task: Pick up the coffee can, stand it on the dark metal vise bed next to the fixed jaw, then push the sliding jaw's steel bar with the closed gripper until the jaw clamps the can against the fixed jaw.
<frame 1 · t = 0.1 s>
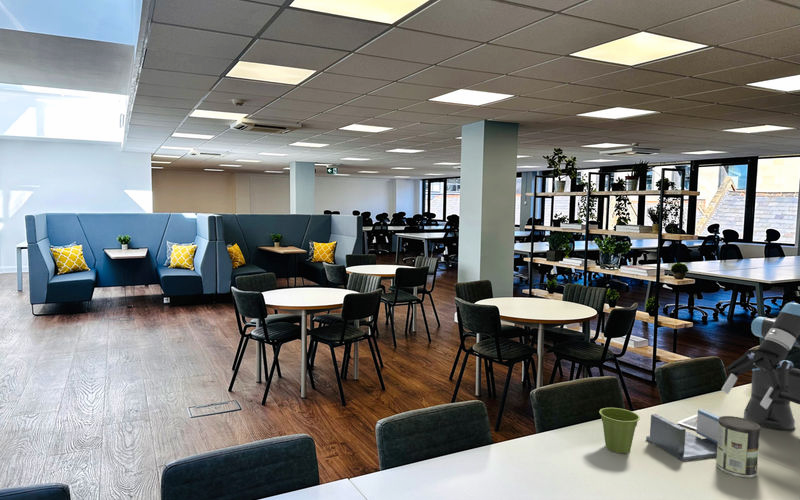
hand: (743, 399, 165), 15 cm above the table, tool tilted 35°, fingers open, 13 cm apart
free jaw: (720, 427, 167), point 6 cm above the table, slide at 0.0 cm
coffee can: (735, 469, 150), on the table
vise base: (685, 447, 163), on the table
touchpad: (697, 425, 183), on the table
plant pot: (617, 449, 161), on the table
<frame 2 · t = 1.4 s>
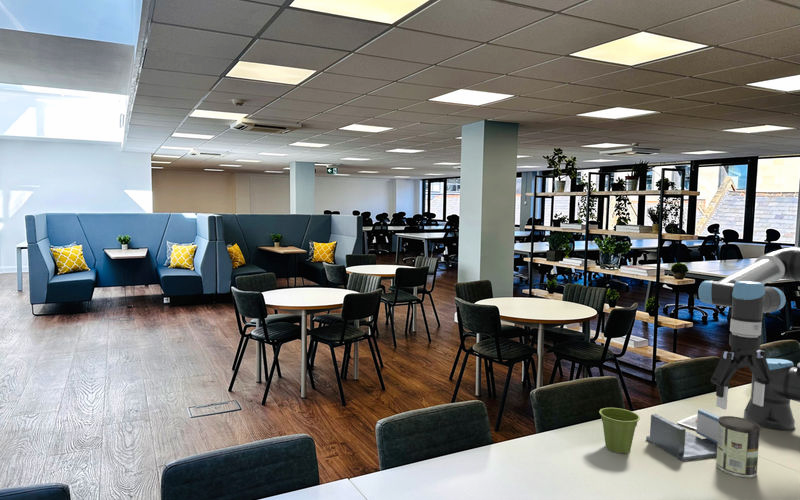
hand: (739, 406, 149), 19 cm above the table, tool pointing down, fingers open, 13 cm apart
nothing on the table moved.
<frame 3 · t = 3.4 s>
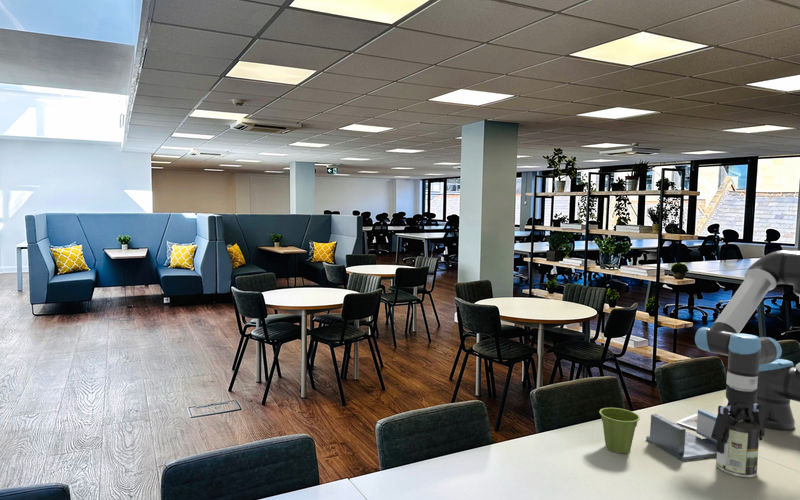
hand: (736, 461, 150), 2 cm above the table, tool pointing down, fingers closed on coffee can, 10 cm apart
coffee can: (735, 469, 150), on the table, touching gripper
everything else where it was.
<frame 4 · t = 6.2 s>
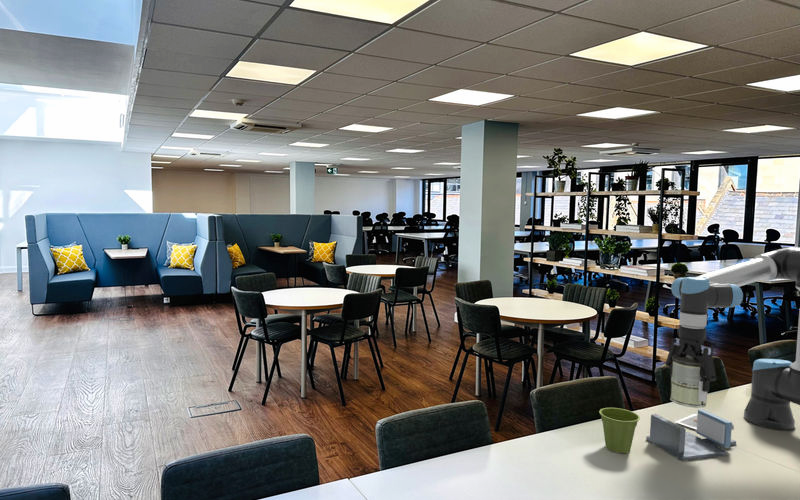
hand: (688, 395, 162), 17 cm above the table, tool pointing down, fingers closed on coffee can, 10 cm apart
coffee can: (687, 402, 162), point 15 cm above the table, touching gripper
when the fingers open (5 cm above the table, at t = 8.9 s): coffee can drops 1 cm, resting on vise base.
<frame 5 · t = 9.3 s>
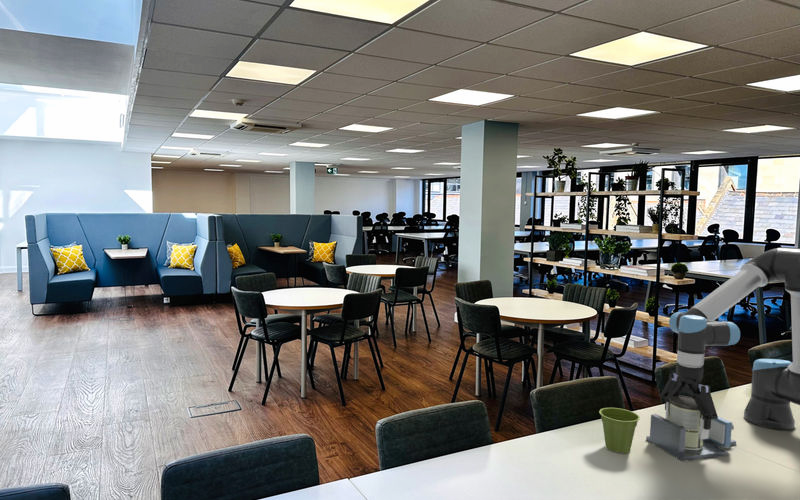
hand: (685, 429, 163), 6 cm above the table, tool pointing down, fingers open, 13 cm apart
coffee can: (684, 444, 163), point 1 cm above the table, touching vise base
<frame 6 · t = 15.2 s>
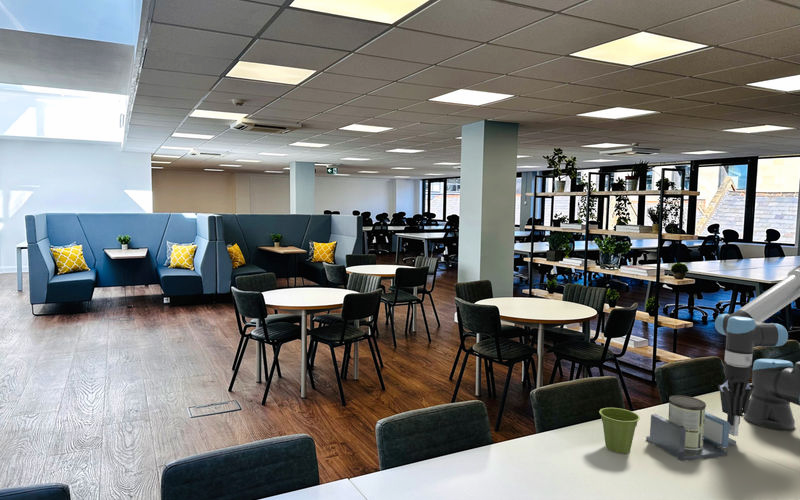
hand: (732, 434, 168), 3 cm above the table, tool pointing down, fingers closed
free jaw: (718, 427, 166), point 5 cm above the table, slide at 0.9 cm, touching gripper
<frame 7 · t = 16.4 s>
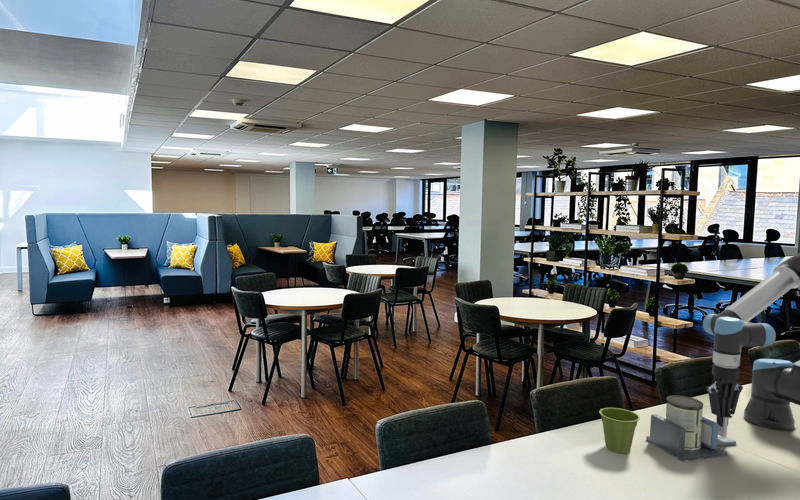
hand: (721, 435, 167), 3 cm above the table, tool pointing down, fingers closed
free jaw: (707, 428, 165), point 6 cm above the table, slide at 5.3 cm, touching coffee can, gripper
coffee can: (682, 444, 163), point 1 cm above the table, touching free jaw, vise base
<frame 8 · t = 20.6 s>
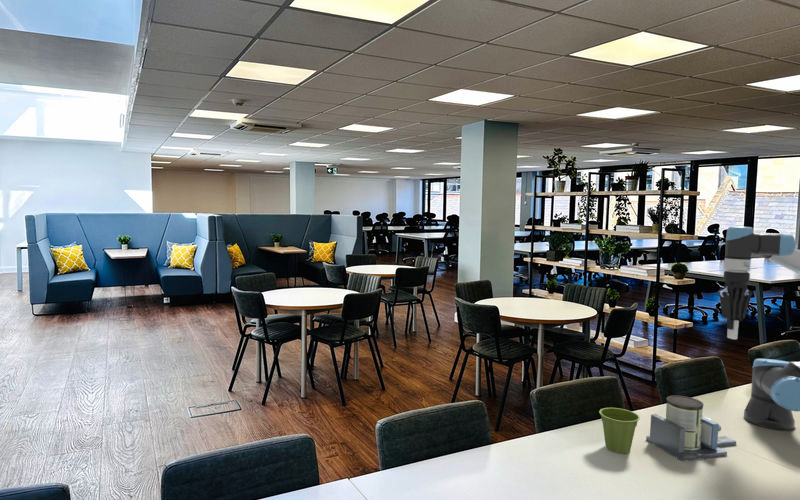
hand: (732, 338, 177), 32 cm above the table, tool pointing down, fingers closed
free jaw: (707, 428, 165), point 5 cm above the table, slide at 5.3 cm
coffee can: (682, 444, 163), point 1 cm above the table, touching vise base
at the end: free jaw slide at 5.3 cm; coffee can inside the target area (0.7 cm from its centre), point 1.0 cm above the table; coffee can tilted 0° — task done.
